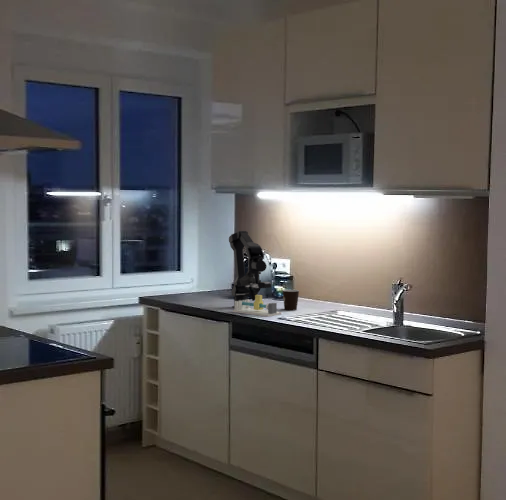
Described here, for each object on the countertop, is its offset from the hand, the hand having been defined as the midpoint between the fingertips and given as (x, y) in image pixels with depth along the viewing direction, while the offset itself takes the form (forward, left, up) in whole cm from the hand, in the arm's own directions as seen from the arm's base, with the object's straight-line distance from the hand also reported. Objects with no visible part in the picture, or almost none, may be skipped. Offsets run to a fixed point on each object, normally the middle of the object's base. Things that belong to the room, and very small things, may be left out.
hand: (253, 300), depth 409 cm
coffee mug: (+6, +23, -6) cm, 25 cm away
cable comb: (+2, 0, -6) cm, 7 cm away
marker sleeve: (+3, 0, -4) cm, 5 cm away
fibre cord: (+2, 0, -6) cm, 7 cm away
